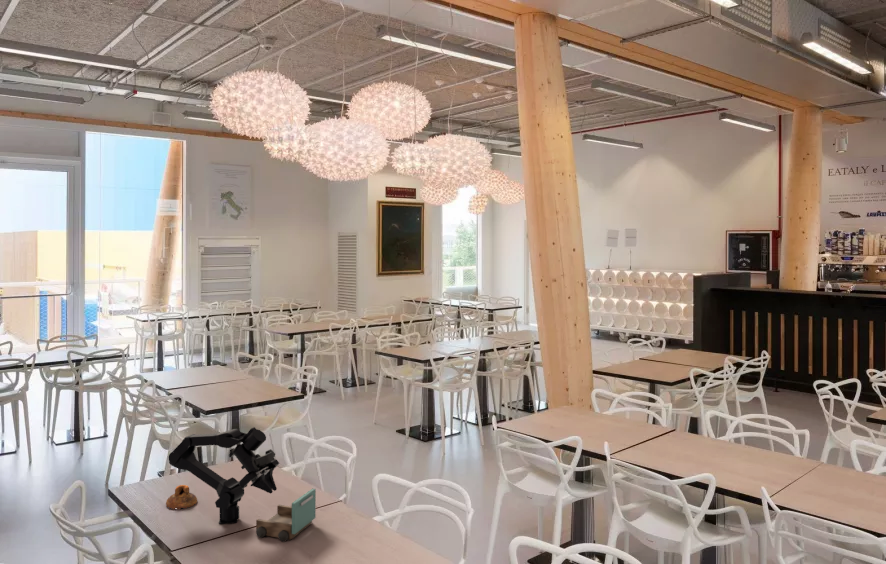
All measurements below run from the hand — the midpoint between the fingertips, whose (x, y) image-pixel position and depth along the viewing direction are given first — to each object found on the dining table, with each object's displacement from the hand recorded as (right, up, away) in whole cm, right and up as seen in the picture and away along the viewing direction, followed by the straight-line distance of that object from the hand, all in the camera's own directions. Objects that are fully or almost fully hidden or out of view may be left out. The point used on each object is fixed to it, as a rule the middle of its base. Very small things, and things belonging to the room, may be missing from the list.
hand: (273, 491), depth 241 cm
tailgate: (+12, -11, -3) cm, 17 cm away
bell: (-43, -12, +22) cm, 49 cm away
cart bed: (+4, -14, -1) cm, 14 cm away
